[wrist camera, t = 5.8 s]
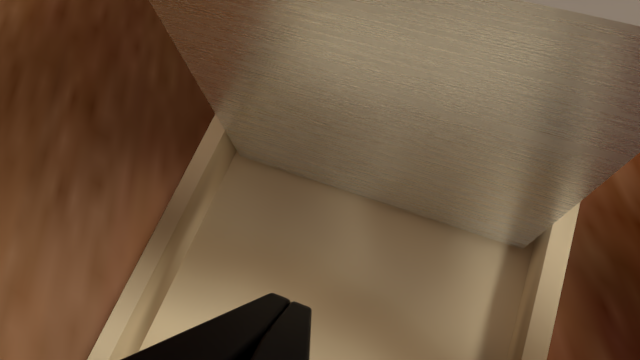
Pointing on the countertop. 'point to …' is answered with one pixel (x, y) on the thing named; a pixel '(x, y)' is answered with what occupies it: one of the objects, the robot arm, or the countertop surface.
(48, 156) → the countertop surface
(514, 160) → the white square slab
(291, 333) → the robot arm
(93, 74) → the countertop surface
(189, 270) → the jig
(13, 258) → the countertop surface
